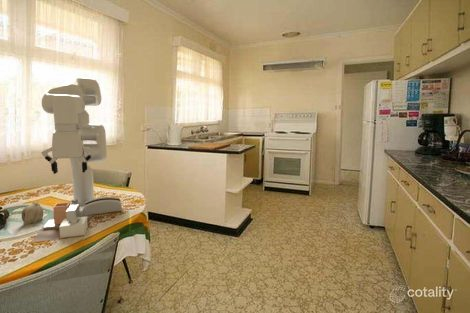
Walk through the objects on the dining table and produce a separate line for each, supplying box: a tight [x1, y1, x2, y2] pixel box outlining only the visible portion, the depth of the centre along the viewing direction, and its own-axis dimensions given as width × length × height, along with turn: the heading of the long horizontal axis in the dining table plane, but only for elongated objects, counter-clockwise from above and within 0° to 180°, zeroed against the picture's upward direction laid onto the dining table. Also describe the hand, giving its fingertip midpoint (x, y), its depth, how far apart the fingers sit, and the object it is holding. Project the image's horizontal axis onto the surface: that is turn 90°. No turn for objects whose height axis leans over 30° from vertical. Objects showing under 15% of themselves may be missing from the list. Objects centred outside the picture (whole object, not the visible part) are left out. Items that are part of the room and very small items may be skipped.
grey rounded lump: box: [21, 201, 45, 226], centre depth 116 cm, size 9×8×10 cm
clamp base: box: [42, 198, 90, 230], centre depth 113 cm, size 8×15×10 cm, turn 111°
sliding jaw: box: [52, 201, 71, 225], centre depth 113 cm, size 6×6×7 cm
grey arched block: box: [85, 196, 123, 216], centre depth 128 cm, size 17×5×10 cm, turn 118°
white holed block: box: [59, 217, 89, 238], centre depth 106 cm, size 8×8×4 cm
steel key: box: [66, 204, 80, 223], centre depth 106 cm, size 8×3×10 cm, turn 20°
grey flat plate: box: [30, 216, 92, 243], centre depth 109 cm, size 20×17×2 cm
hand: (70, 172), depth 104 cm, fingers open, 9 cm apart
